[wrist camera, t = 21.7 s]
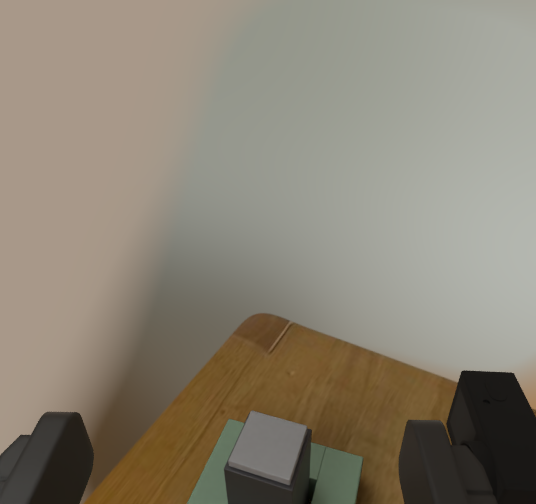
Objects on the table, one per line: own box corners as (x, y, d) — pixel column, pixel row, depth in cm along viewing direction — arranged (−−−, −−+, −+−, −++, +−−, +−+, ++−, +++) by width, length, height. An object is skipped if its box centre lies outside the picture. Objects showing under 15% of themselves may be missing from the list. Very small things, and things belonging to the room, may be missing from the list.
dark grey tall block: (232, 545, 33) (222, 462, 28) (254, 488, 37) (249, 405, 32) (291, 567, 32) (292, 485, 27) (308, 506, 36) (312, 423, 30)
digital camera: (432, 421, 42) (446, 367, 38) (493, 424, 42) (513, 370, 38) (463, 542, 33) (486, 487, 29) (541, 548, 33) (574, 493, 29)
